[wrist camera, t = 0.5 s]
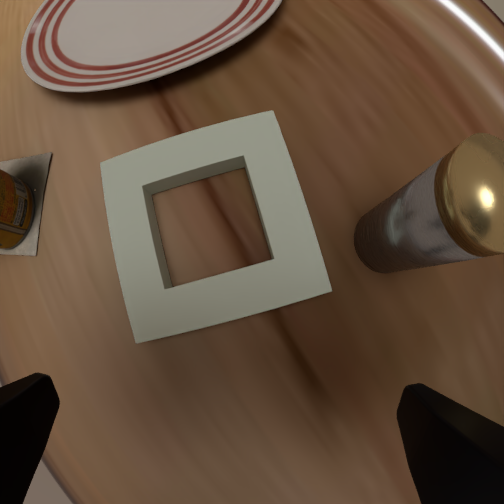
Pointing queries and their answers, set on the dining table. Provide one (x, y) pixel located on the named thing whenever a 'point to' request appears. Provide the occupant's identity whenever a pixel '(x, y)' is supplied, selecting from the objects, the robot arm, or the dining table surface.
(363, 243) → the jar with gold lid
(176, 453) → the dining table surface
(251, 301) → the white flat square frame
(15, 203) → the condiment
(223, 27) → the dinner plate
